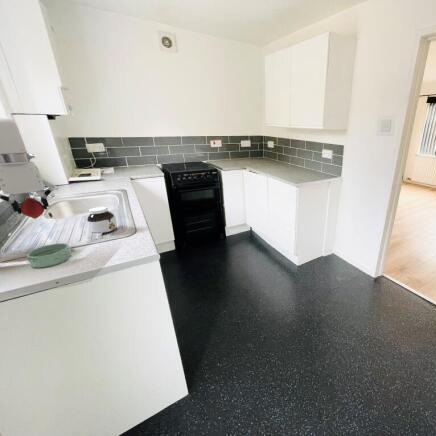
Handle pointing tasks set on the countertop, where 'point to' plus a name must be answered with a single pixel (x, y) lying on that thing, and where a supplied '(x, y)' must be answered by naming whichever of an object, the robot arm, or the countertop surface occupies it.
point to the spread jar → (101, 220)
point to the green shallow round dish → (40, 260)
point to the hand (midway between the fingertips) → (33, 210)
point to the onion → (32, 208)
